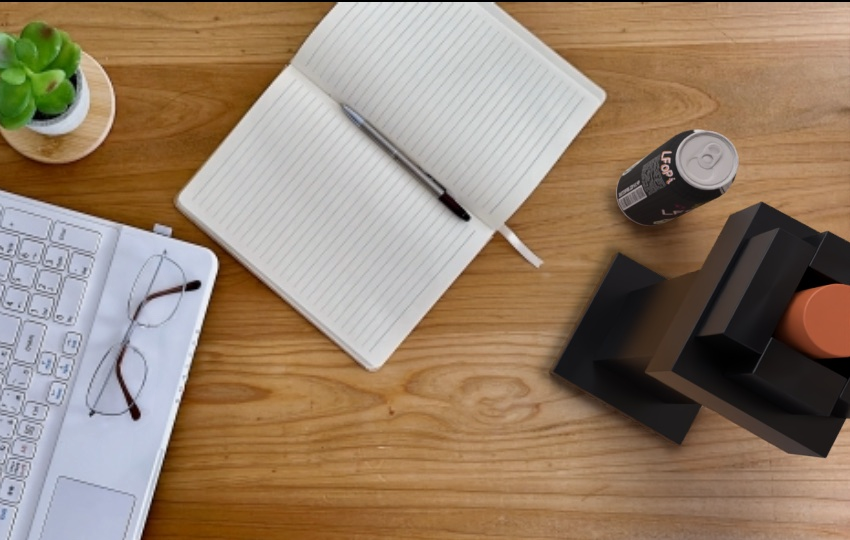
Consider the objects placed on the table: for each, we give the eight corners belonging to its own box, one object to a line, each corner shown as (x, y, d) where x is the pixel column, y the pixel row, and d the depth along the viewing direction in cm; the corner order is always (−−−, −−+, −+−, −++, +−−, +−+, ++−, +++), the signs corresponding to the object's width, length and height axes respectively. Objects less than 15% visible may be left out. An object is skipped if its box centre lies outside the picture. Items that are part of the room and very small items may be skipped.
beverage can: (691, 189, 76) (763, 151, 64) (655, 240, 75) (720, 211, 63) (636, 152, 76) (696, 107, 65) (600, 203, 76) (654, 167, 64)
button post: (674, 444, 73) (882, 473, 47) (548, 372, 74) (680, 359, 48) (739, 323, 74) (977, 284, 48) (613, 253, 75) (777, 178, 49)
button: (822, 372, 50) (860, 370, 46) (758, 337, 50) (791, 332, 47) (853, 313, 50) (892, 307, 47) (789, 278, 50) (823, 270, 47)
